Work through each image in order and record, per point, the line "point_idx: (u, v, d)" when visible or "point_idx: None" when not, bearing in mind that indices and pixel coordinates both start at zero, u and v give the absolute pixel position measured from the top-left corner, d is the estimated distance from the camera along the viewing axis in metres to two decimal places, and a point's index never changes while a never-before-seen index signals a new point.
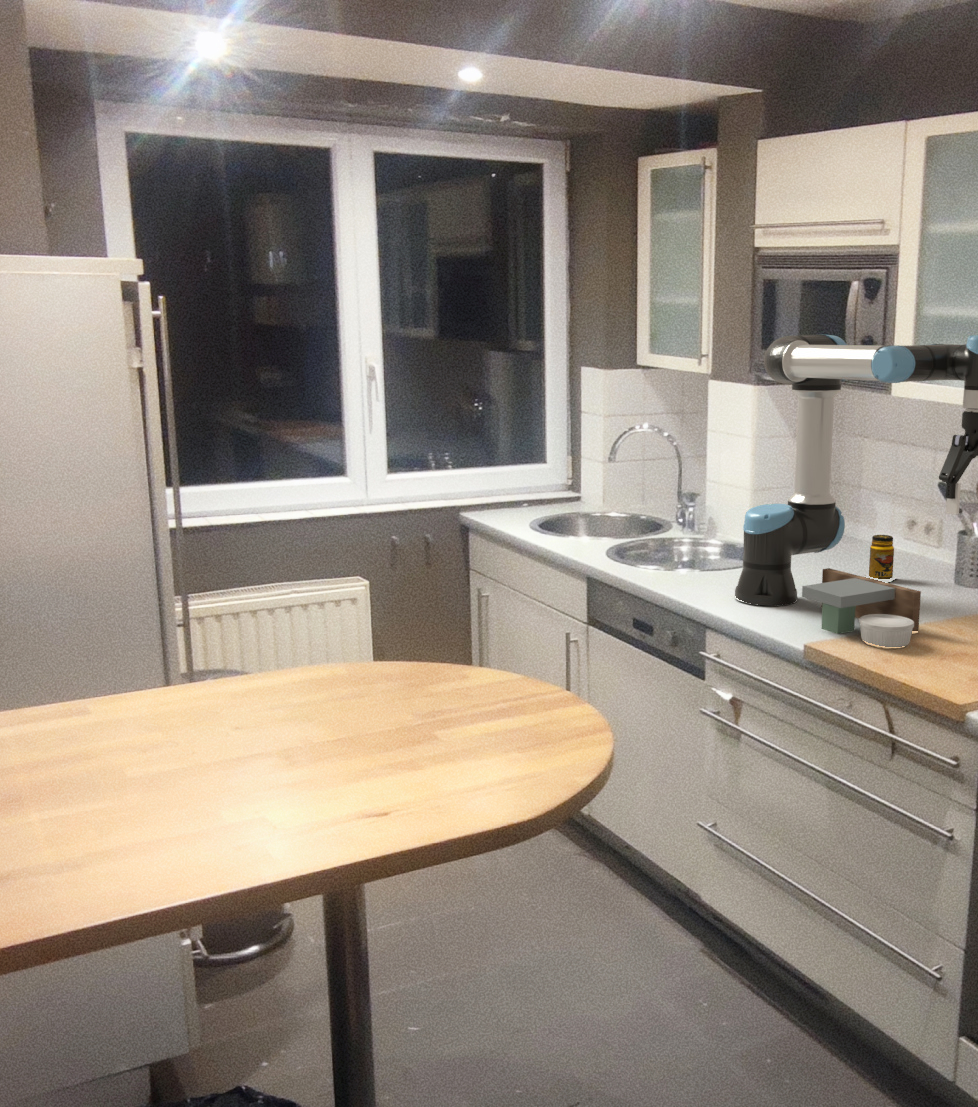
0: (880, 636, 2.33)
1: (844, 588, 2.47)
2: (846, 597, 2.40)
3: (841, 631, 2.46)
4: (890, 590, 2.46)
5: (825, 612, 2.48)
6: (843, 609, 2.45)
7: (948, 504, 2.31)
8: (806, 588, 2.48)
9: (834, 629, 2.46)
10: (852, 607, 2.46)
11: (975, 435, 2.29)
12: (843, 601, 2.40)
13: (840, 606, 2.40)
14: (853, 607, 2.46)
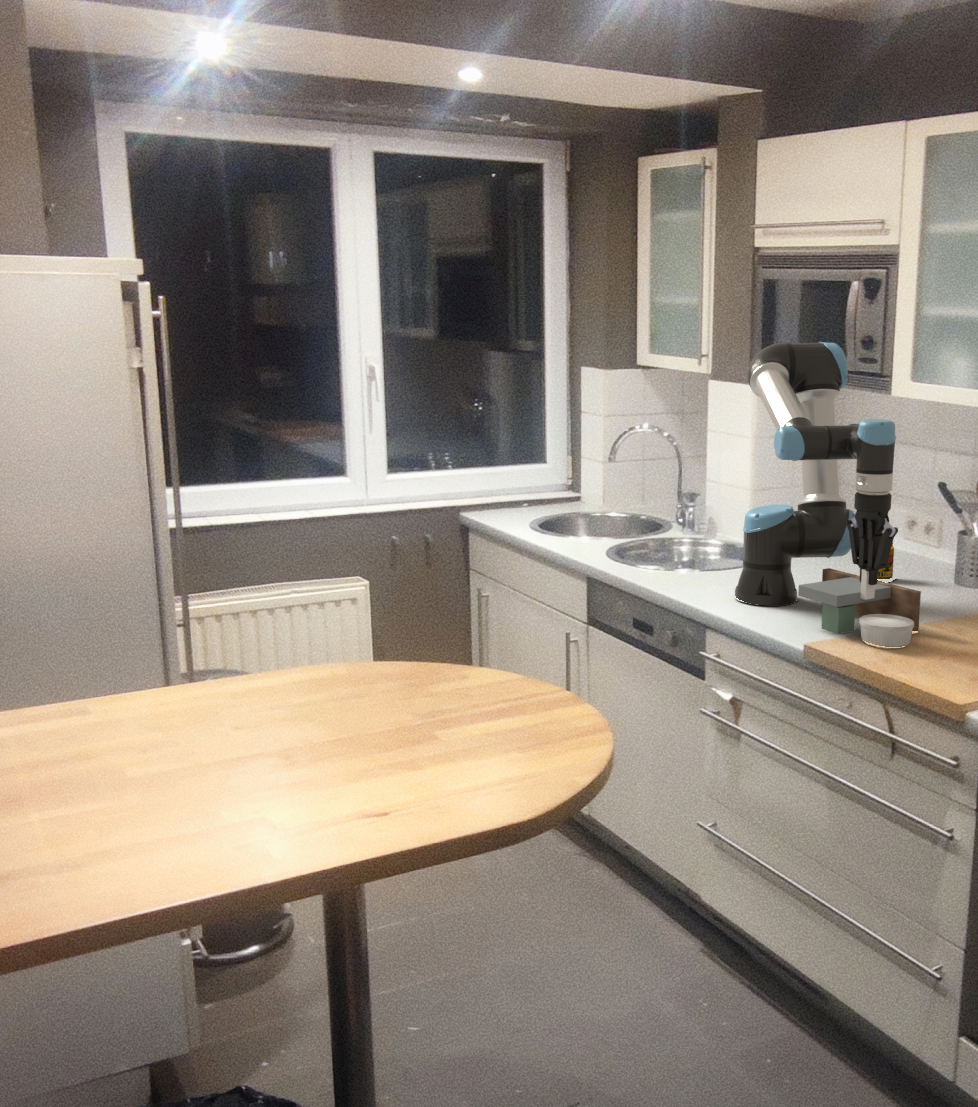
0: (880, 636, 2.33)
1: (840, 587, 2.48)
2: (842, 596, 2.41)
3: (841, 631, 2.46)
4: (886, 589, 2.47)
5: (825, 612, 2.48)
6: (843, 609, 2.45)
7: None
8: (802, 587, 2.50)
9: (834, 629, 2.46)
10: (852, 607, 2.46)
11: (856, 513, 2.42)
12: (839, 599, 2.41)
13: (836, 605, 2.41)
14: (853, 607, 2.46)
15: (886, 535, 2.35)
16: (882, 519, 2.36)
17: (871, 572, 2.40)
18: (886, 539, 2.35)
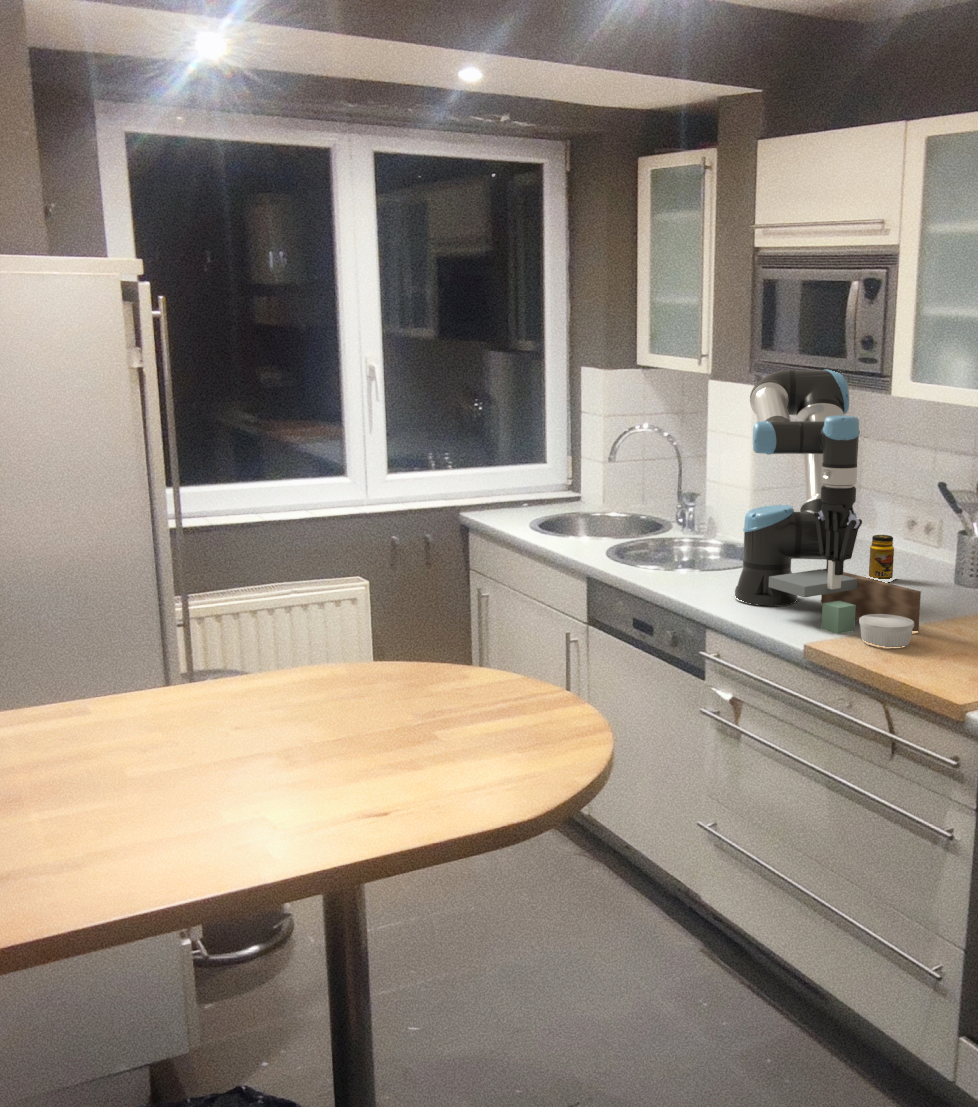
0: (880, 636, 2.33)
1: (809, 578, 2.57)
2: (809, 587, 2.50)
3: (841, 631, 2.46)
4: (853, 580, 2.55)
5: (825, 612, 2.48)
6: (843, 609, 2.45)
7: None
8: (772, 578, 2.58)
9: (834, 629, 2.46)
10: (852, 607, 2.46)
11: (823, 505, 2.51)
12: (807, 590, 2.49)
13: (804, 595, 2.49)
14: (853, 607, 2.46)
15: (850, 527, 2.44)
16: (847, 511, 2.45)
17: (837, 563, 2.49)
18: (851, 530, 2.44)
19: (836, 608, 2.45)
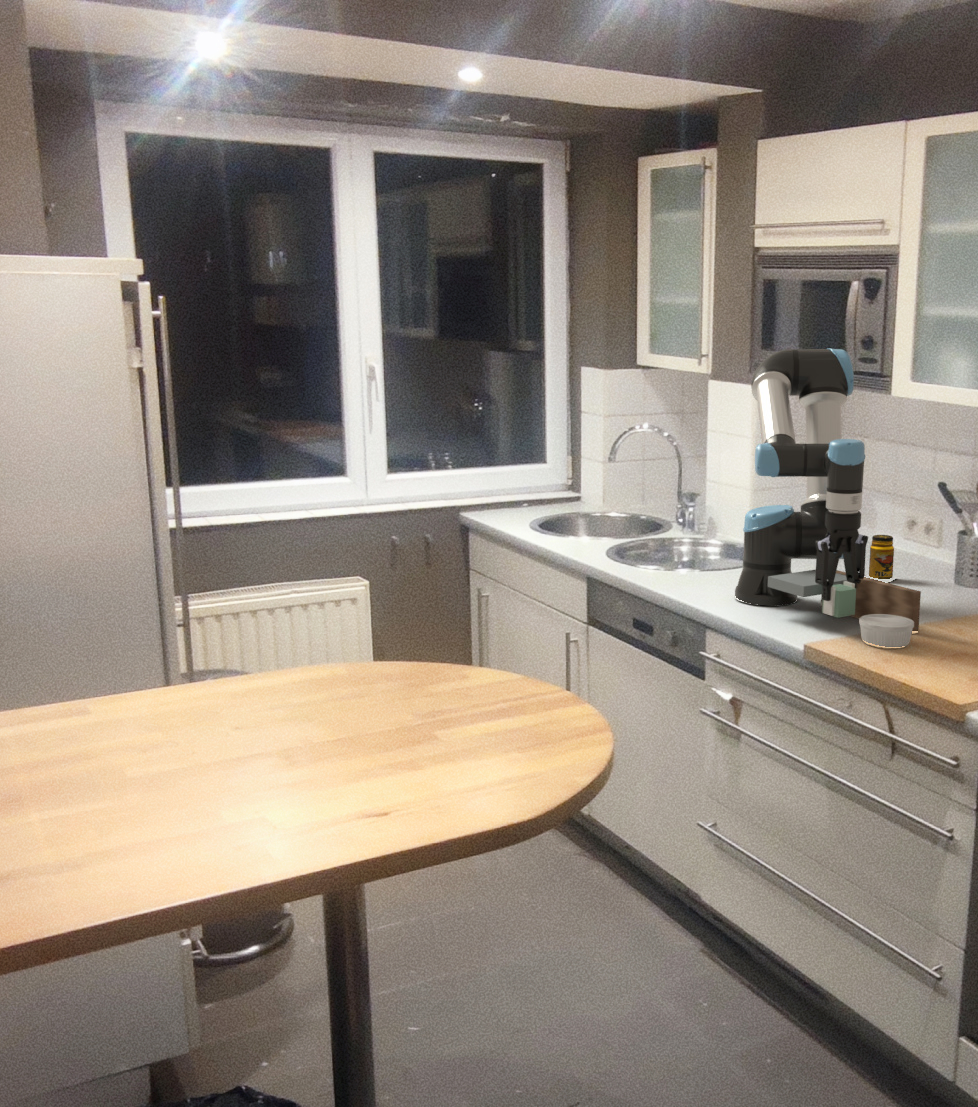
0: (880, 636, 2.33)
1: (808, 578, 2.57)
2: (809, 586, 2.50)
3: (841, 615, 2.46)
4: None
5: None
6: (843, 593, 2.45)
7: (825, 605, 2.47)
8: (771, 578, 2.59)
9: (835, 613, 2.46)
10: (853, 590, 2.46)
11: (835, 534, 2.42)
12: (806, 590, 2.50)
13: (803, 595, 2.50)
14: (854, 590, 2.46)
15: (865, 542, 2.47)
16: (858, 532, 2.45)
17: (854, 584, 2.48)
18: None
19: (837, 592, 2.44)
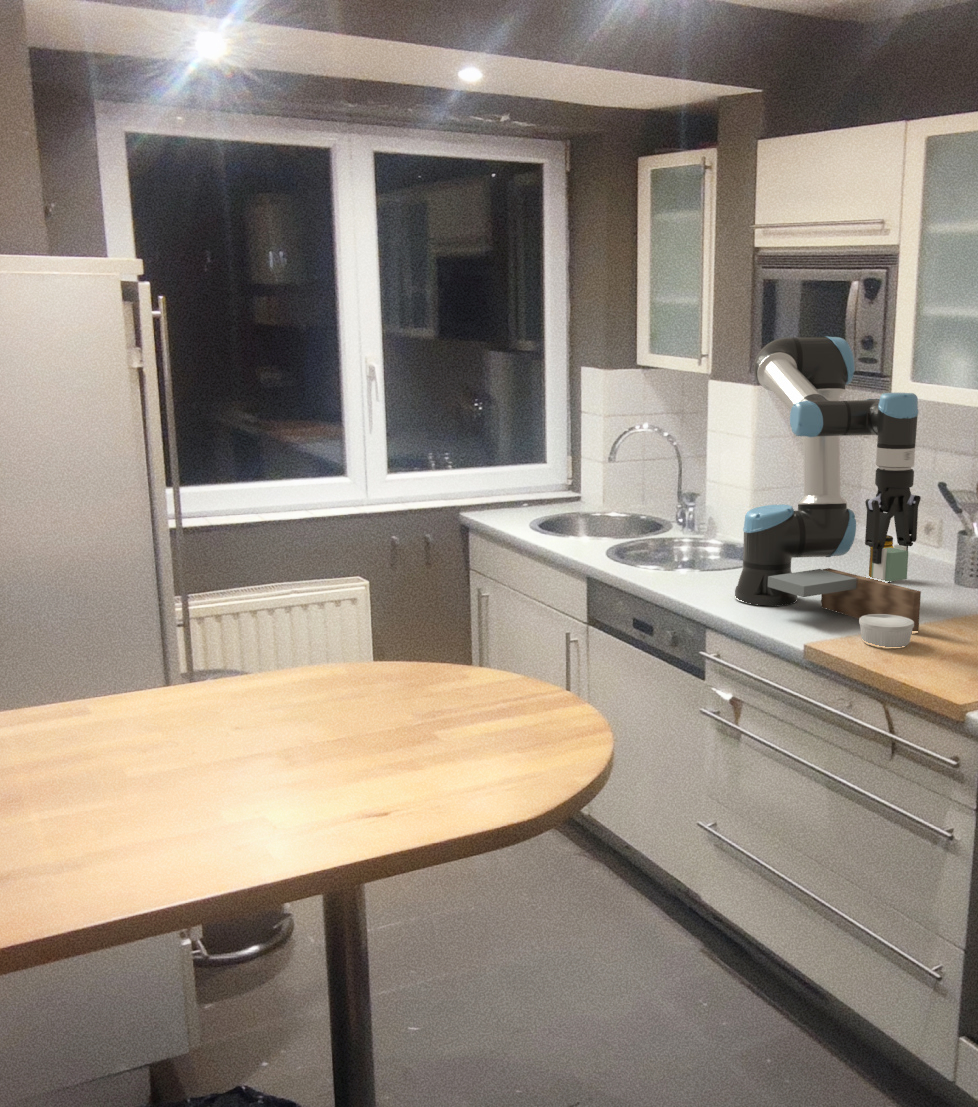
0: (880, 636, 2.33)
1: (808, 578, 2.57)
2: (809, 586, 2.50)
3: (893, 578, 2.32)
4: (852, 580, 2.56)
5: None
6: (895, 555, 2.31)
7: (875, 569, 2.34)
8: (771, 578, 2.59)
9: (886, 577, 2.32)
10: (905, 553, 2.32)
11: (886, 493, 2.29)
12: (806, 590, 2.50)
13: (803, 595, 2.50)
14: (906, 553, 2.32)
15: (918, 503, 2.33)
16: None
17: None
18: None
19: (888, 554, 2.31)
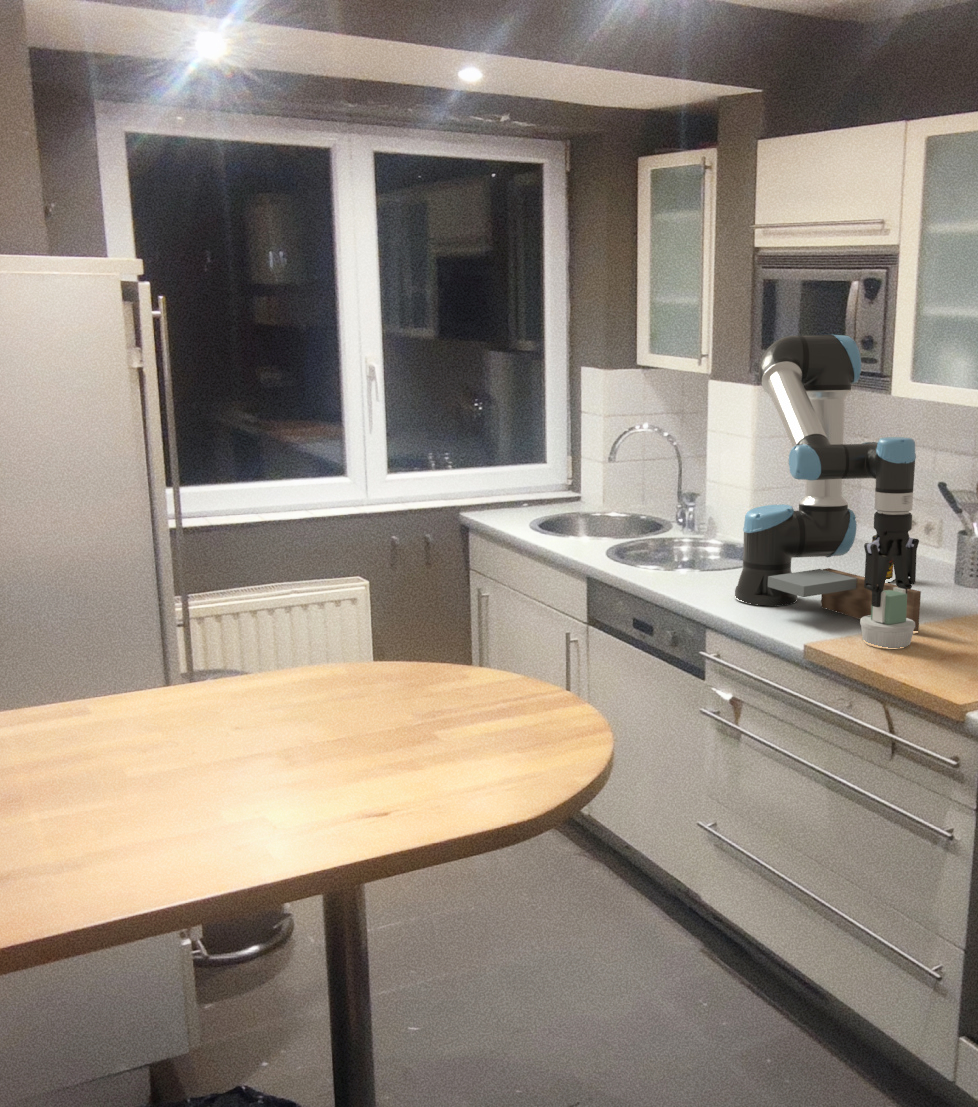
0: (882, 636, 2.32)
1: (808, 578, 2.57)
2: (809, 586, 2.50)
3: (892, 621, 2.33)
4: (852, 580, 2.56)
5: None
6: (894, 598, 2.32)
7: (874, 612, 2.35)
8: (771, 578, 2.59)
9: (885, 620, 2.33)
10: (904, 596, 2.33)
11: (885, 537, 2.30)
12: (806, 590, 2.50)
13: (803, 595, 2.50)
14: (905, 596, 2.34)
15: (916, 546, 2.35)
16: (908, 534, 2.34)
17: (905, 589, 2.36)
18: None
19: (887, 597, 2.32)
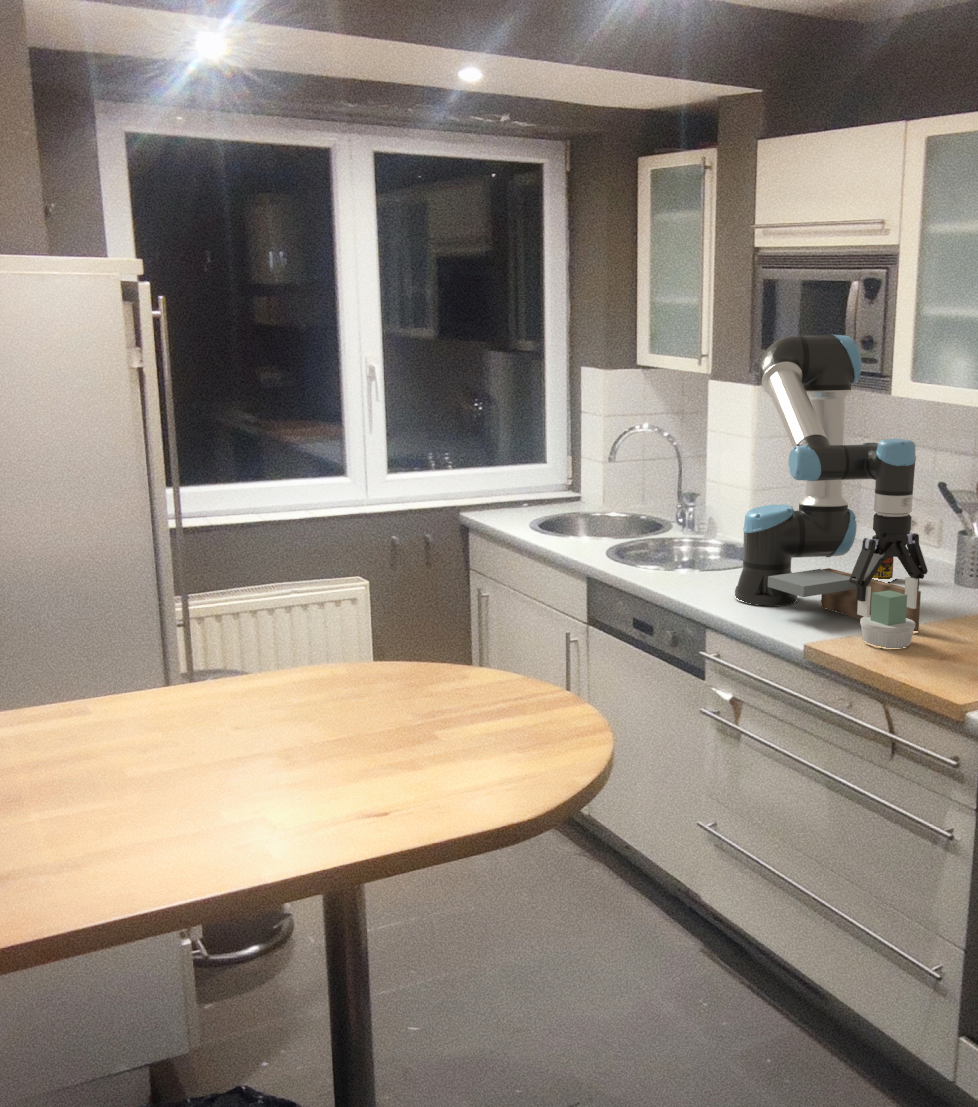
0: (881, 637, 2.32)
1: (808, 578, 2.57)
2: (809, 586, 2.50)
3: (892, 622, 2.33)
4: None
5: (875, 602, 2.35)
6: (894, 599, 2.32)
7: (859, 606, 2.34)
8: (771, 578, 2.59)
9: (884, 621, 2.33)
10: (903, 597, 2.33)
11: (885, 538, 2.31)
12: (806, 590, 2.50)
13: (803, 595, 2.50)
14: (905, 597, 2.33)
15: (917, 540, 2.35)
16: (906, 535, 2.34)
17: None
18: None
19: (887, 598, 2.32)
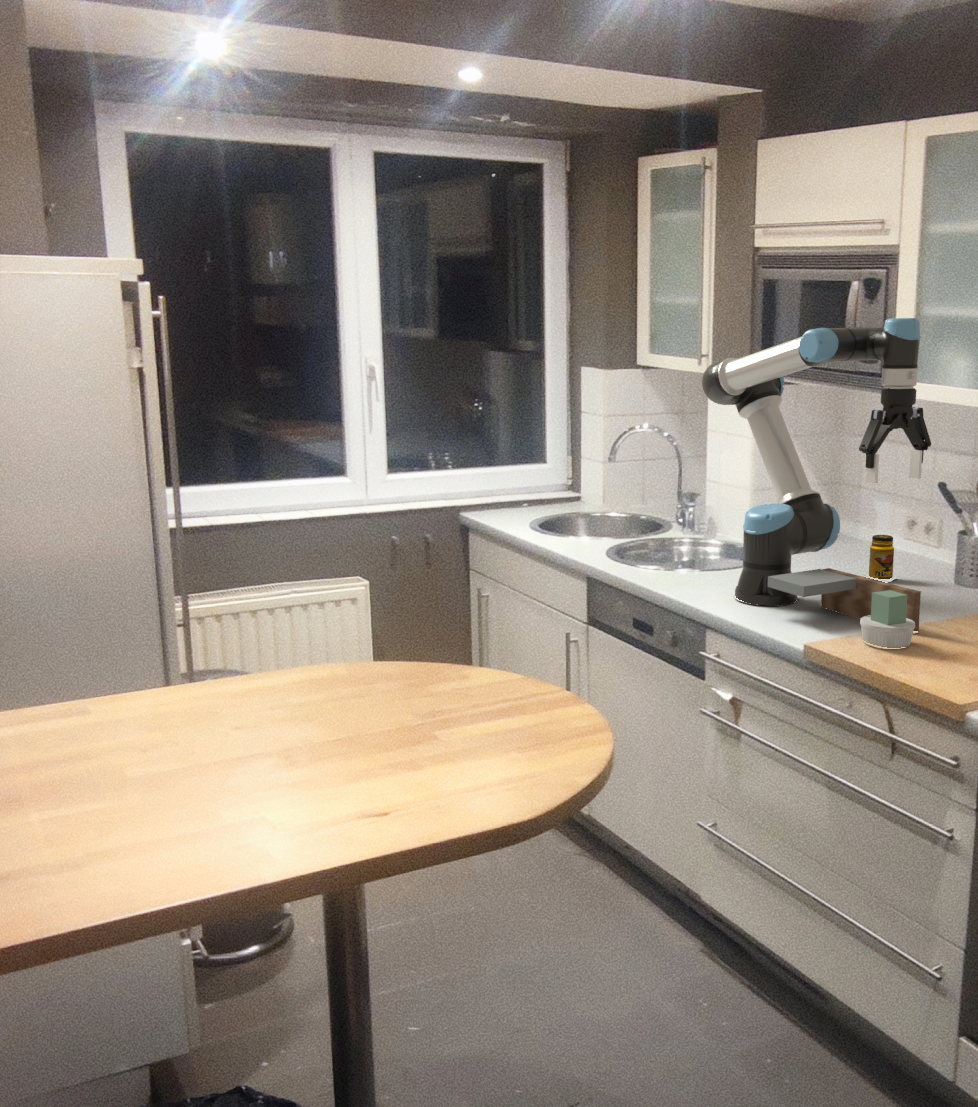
0: (881, 637, 2.32)
1: (808, 578, 2.57)
2: (809, 586, 2.50)
3: (892, 622, 2.33)
4: (852, 580, 2.56)
5: (875, 602, 2.35)
6: (894, 599, 2.32)
7: (868, 473, 2.53)
8: (771, 578, 2.59)
9: (884, 620, 2.33)
10: (904, 597, 2.33)
11: (892, 410, 2.50)
12: (806, 590, 2.50)
13: (803, 595, 2.50)
14: (905, 597, 2.33)
15: (922, 414, 2.54)
16: (911, 408, 2.53)
17: (922, 451, 2.57)
18: None
19: (887, 598, 2.32)
